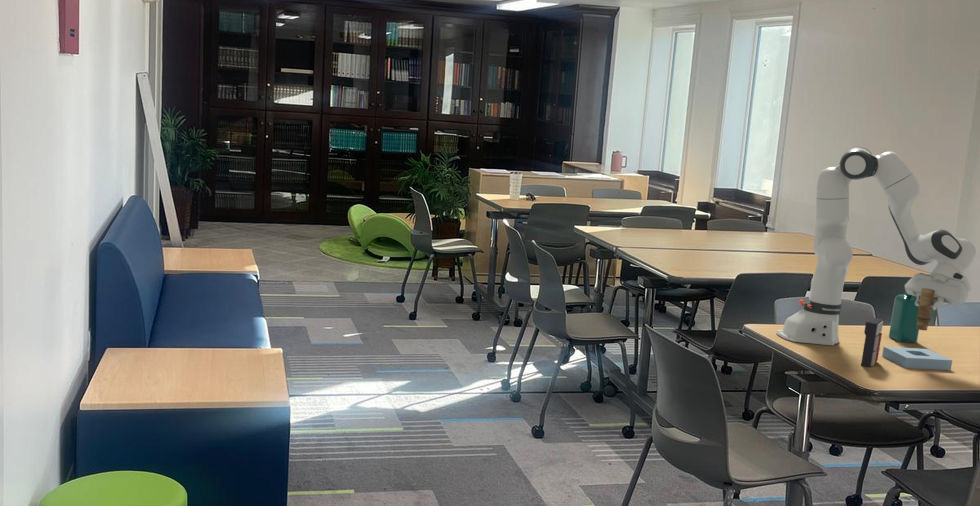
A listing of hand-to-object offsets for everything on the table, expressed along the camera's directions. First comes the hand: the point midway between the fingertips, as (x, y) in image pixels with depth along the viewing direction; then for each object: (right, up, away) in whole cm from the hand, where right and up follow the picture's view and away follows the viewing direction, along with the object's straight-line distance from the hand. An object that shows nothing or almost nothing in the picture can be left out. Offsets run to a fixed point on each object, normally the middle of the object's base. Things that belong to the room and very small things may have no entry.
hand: (924, 307), depth 316 cm
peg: (0, -8, +2) cm, 8 cm away
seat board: (-1, -20, +4) cm, 20 cm away
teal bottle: (+10, -15, +38) cm, 42 cm away
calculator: (-21, -19, -3) cm, 28 cm away
